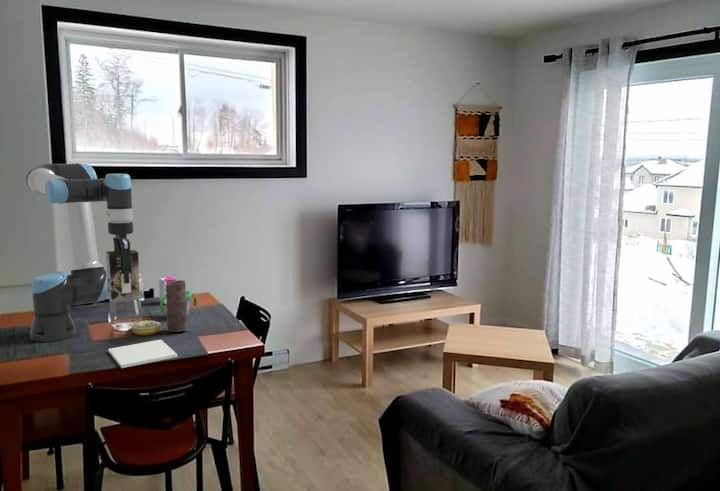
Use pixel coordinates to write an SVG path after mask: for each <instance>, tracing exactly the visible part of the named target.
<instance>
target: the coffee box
mask: <svg viewBox="0 0 720 491" xmlns="http://www.w3.org/2000/svg"><path fill="white" fill-rule="evenodd" d="M105 253H106V254H105V257H106V258H105V259H106V271H107V283H108V298H107V299H108V300H109V302H111V304H112V303H119V302H127V301H137V300H141V290H140V289H141V288H140V287H141V286H140V283H141V282H140V262H139V261H140V260H139V251H137V250H135V249H130V255H131V269H132V272H130V279H131V293H122V284H121V274H119V272H122V270H121V258H120V253H118V251H114V250H112V251H105Z"/></svg>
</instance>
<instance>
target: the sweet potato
mask: <svg viewBox="0 0 720 491" xmlns="http://www.w3.org/2000/svg"><path fill="white" fill-rule="evenodd" d="M186 291H187V289H186V280H181V279H179V280H176V281H169V282H168V283H167V284H166V298H167V304H166V321H167V324H166V325H167V331H168V332H173V333H178V332H186V331H188V316H187V308H186Z"/></svg>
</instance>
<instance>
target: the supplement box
mask: <svg viewBox="0 0 720 491" xmlns="http://www.w3.org/2000/svg"><path fill="white" fill-rule="evenodd" d="M158 281H159V282H158V285H159V286H158V287H159V288H158V289H159V293H158V294H159V303H160V302H161V299H162V298H163V297H164V296H165V294H166V284H167V283H168V282H169V281H177V279H176V278H174V277H173V276H166V277H159V278H158ZM165 305H166V306H167V300H166V299H165V300H164V301H163V306H165Z"/></svg>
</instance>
